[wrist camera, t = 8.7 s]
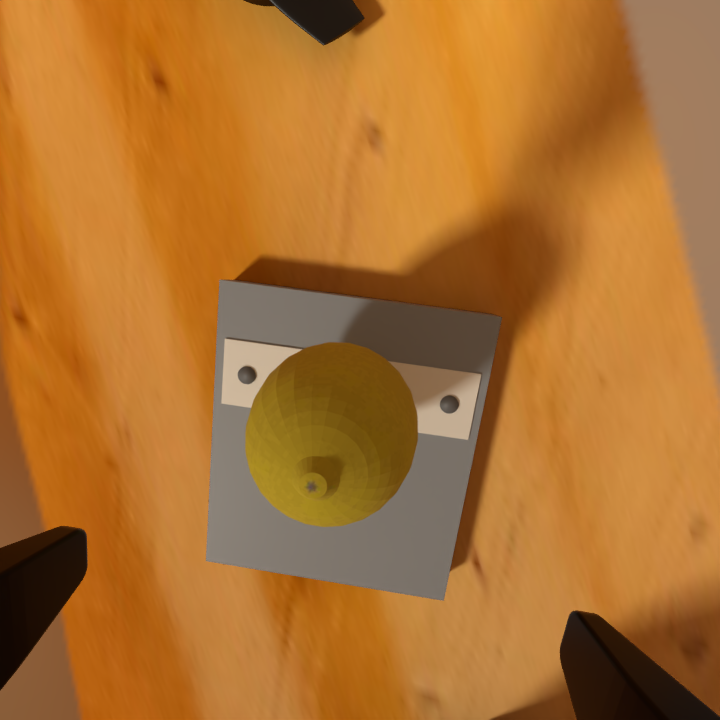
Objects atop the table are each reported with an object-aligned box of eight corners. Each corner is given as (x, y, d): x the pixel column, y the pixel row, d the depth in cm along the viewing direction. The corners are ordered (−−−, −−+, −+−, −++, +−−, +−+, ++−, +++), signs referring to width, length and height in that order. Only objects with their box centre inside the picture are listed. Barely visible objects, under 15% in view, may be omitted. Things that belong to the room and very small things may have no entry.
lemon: (301, 313, 16) (222, 344, 8) (427, 349, 16) (463, 413, 8) (273, 430, 17) (181, 552, 10) (390, 464, 17) (392, 614, 10)
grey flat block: (439, 577, 20) (444, 603, 19) (218, 541, 21) (204, 563, 19) (492, 314, 17) (503, 317, 16) (233, 279, 18) (217, 279, 16)
